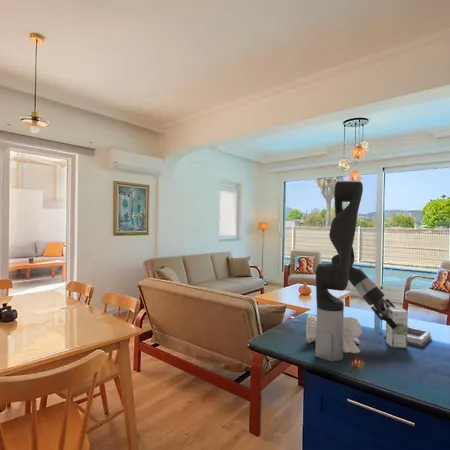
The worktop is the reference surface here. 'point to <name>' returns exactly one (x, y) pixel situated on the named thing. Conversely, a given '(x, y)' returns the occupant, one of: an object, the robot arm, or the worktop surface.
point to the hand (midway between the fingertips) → (398, 325)
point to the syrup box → (397, 328)
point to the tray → (416, 337)
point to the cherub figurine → (349, 332)
